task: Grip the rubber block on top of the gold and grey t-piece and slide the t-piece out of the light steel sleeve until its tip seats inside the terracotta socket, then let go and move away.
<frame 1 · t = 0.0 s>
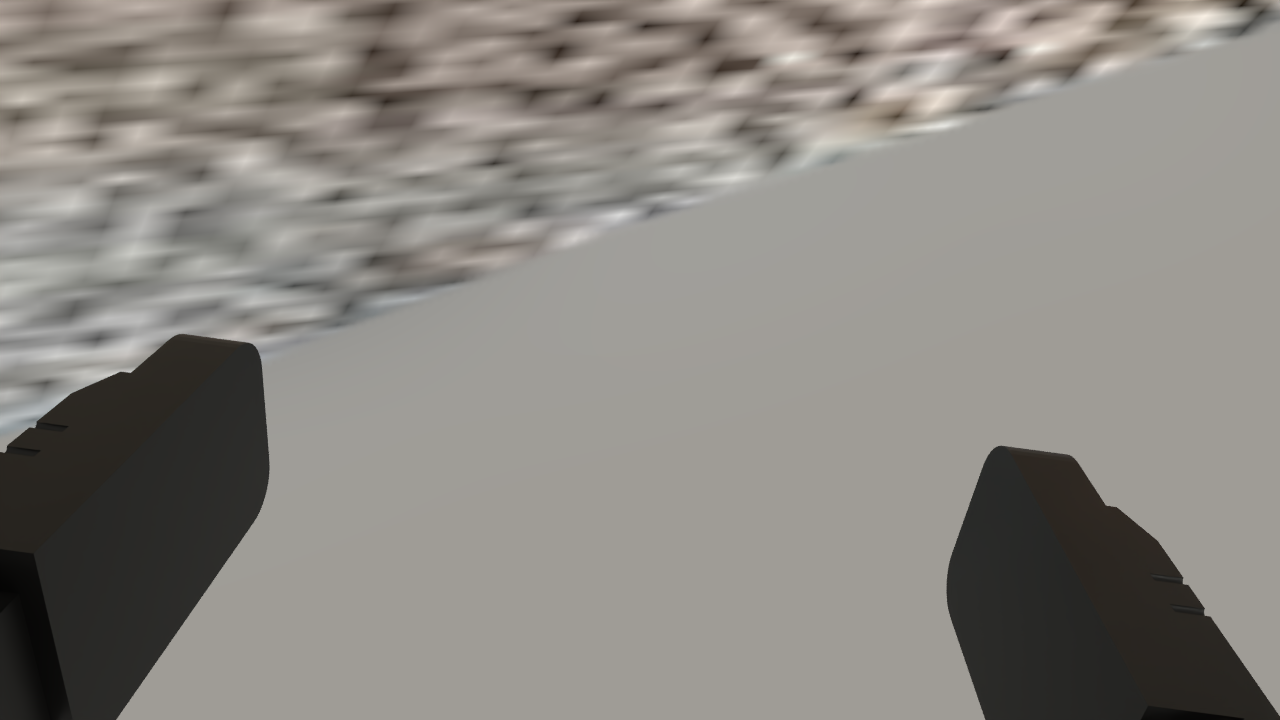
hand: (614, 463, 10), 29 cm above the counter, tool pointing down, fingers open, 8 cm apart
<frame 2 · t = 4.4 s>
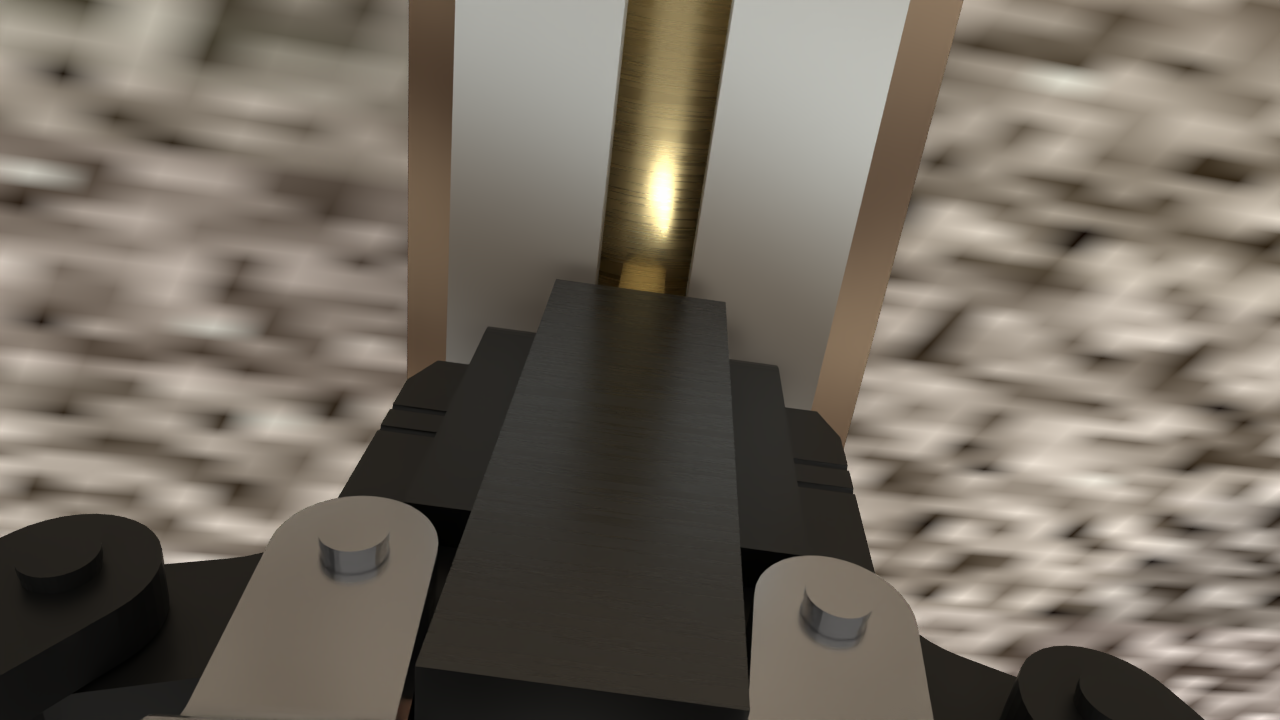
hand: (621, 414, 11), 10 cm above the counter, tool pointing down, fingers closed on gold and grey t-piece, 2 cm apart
gold and grey t-piece: (628, 385, 11), point 10 cm above the counter, slide at 0.0 cm, touching gripper
sleeve stand: (633, 364, 22), on the counter
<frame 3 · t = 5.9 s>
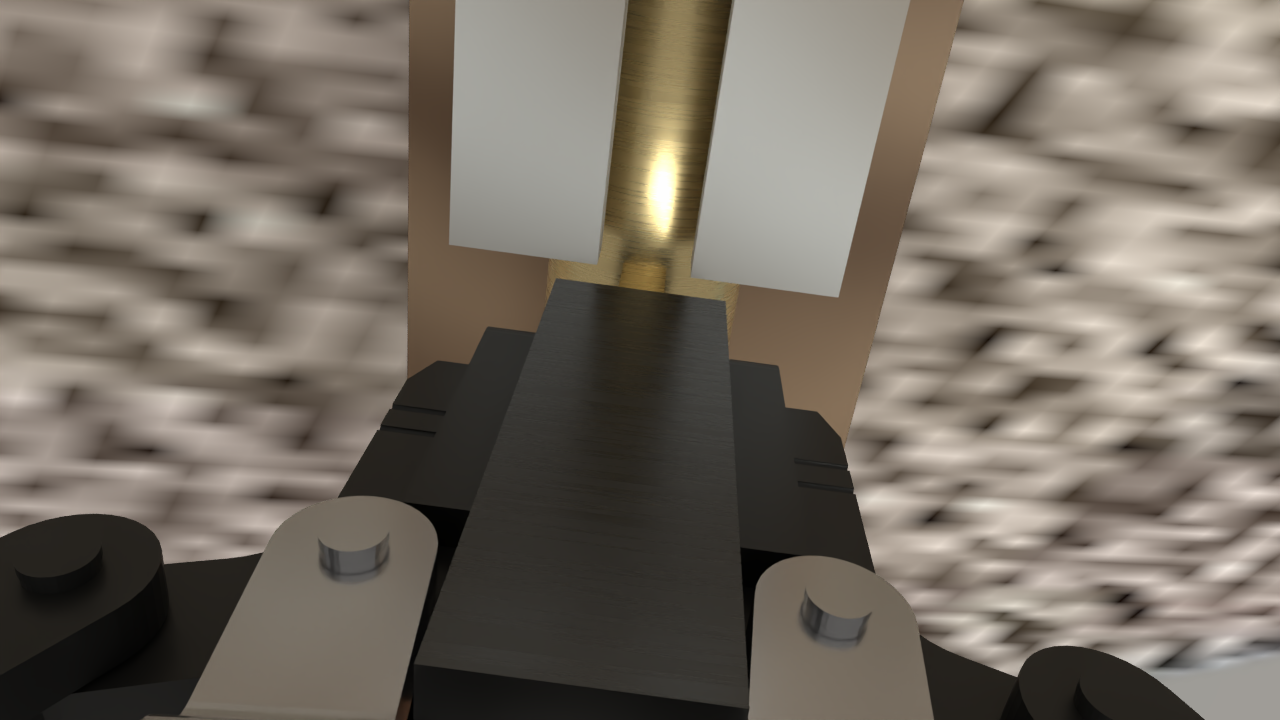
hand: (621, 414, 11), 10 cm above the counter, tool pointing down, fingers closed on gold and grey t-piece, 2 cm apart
gold and grey t-piece: (628, 384, 11), point 10 cm above the counter, slide at 5.3 cm, touching gripper
sleeve stand: (663, 143, 20), on the counter
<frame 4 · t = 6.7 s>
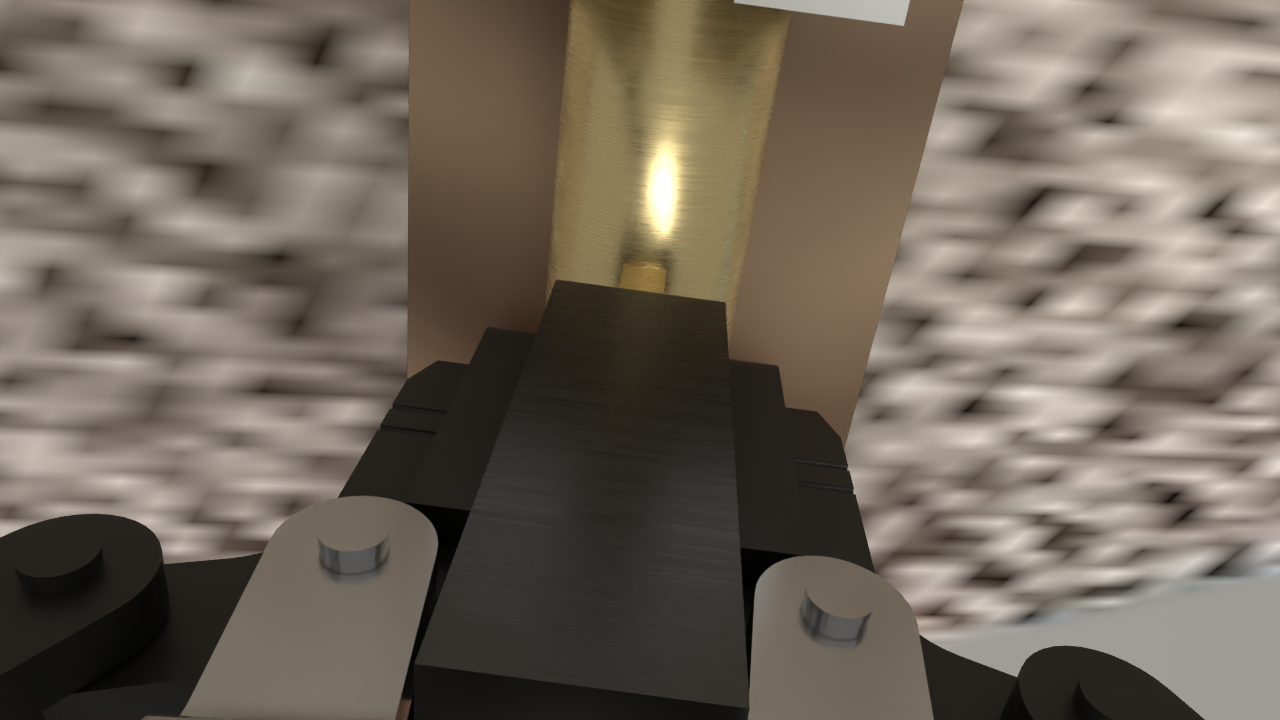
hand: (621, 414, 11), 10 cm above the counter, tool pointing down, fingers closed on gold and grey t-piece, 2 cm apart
gold and grey t-piece: (627, 385, 11), point 10 cm above the counter, slide at 8.7 cm, touching gripper
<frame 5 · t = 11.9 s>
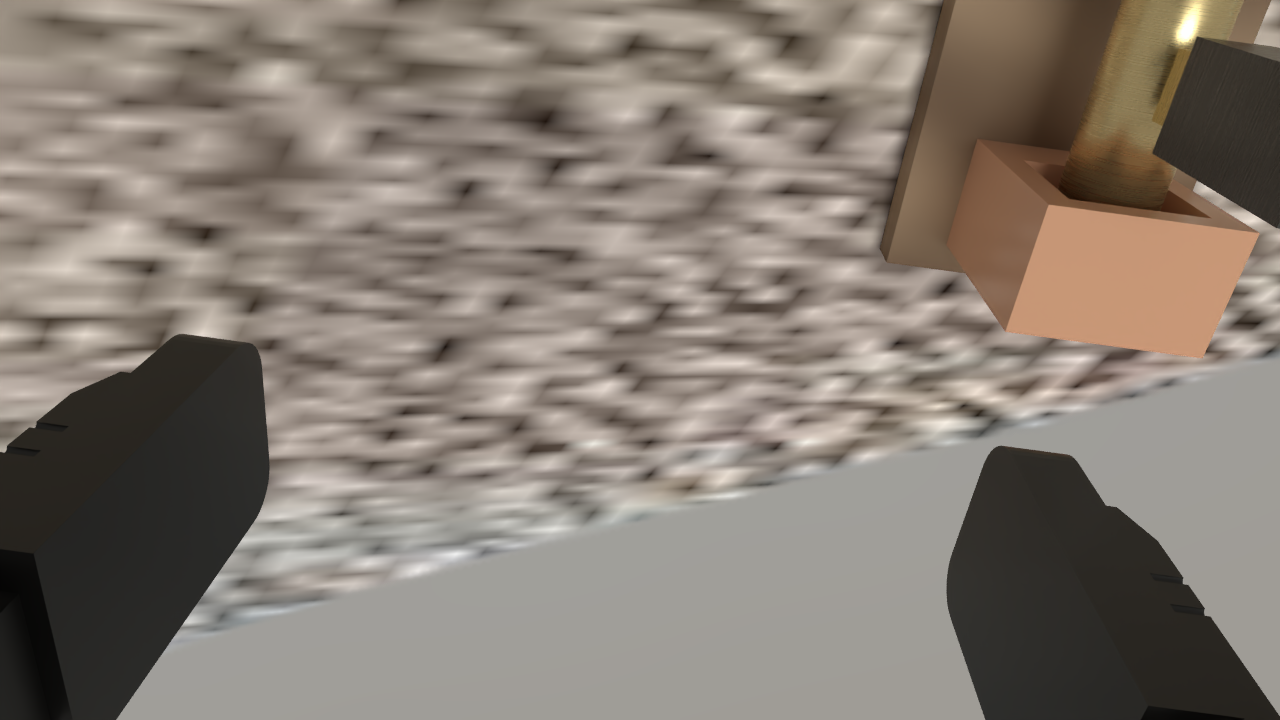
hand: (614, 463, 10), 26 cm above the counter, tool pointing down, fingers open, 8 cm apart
gold and grey t-piece: (1229, 85, 23), point 10 cm above the counter, slide at 8.6 cm
socket block: (1030, 192, 35), resting on sleeve stand
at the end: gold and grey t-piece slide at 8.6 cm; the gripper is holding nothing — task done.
